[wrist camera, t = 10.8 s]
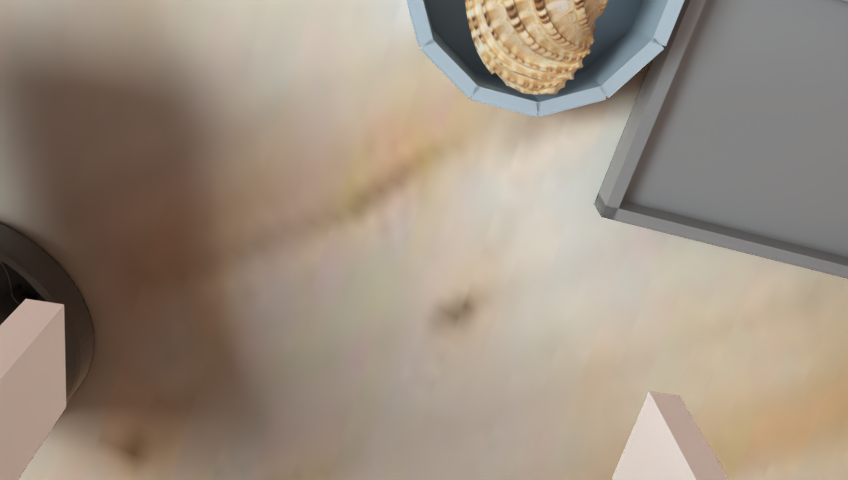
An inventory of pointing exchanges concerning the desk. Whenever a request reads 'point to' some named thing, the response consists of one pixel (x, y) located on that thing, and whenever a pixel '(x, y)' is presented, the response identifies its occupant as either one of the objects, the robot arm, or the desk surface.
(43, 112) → the desk surface
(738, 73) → the tray
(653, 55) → the bowl
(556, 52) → the seashell
